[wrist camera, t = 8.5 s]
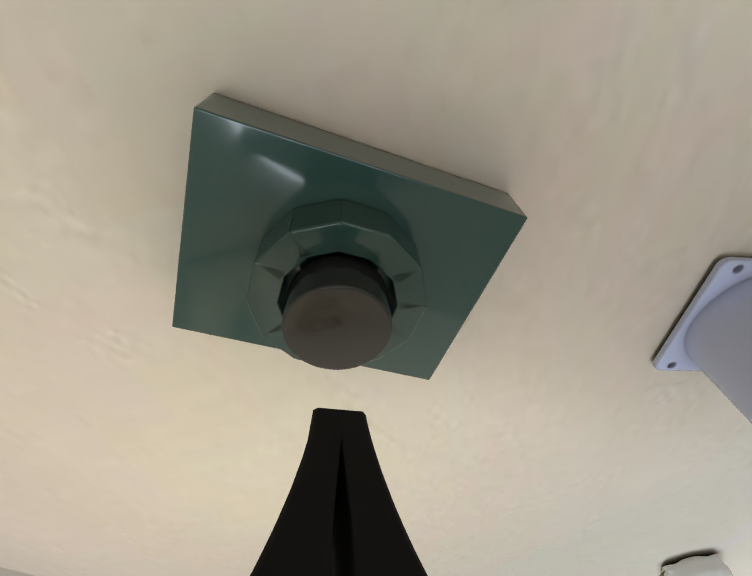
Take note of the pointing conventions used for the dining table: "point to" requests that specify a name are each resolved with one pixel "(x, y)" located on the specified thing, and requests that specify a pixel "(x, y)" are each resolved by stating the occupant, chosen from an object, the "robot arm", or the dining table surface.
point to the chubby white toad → (698, 567)
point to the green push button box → (329, 231)
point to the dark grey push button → (337, 313)
